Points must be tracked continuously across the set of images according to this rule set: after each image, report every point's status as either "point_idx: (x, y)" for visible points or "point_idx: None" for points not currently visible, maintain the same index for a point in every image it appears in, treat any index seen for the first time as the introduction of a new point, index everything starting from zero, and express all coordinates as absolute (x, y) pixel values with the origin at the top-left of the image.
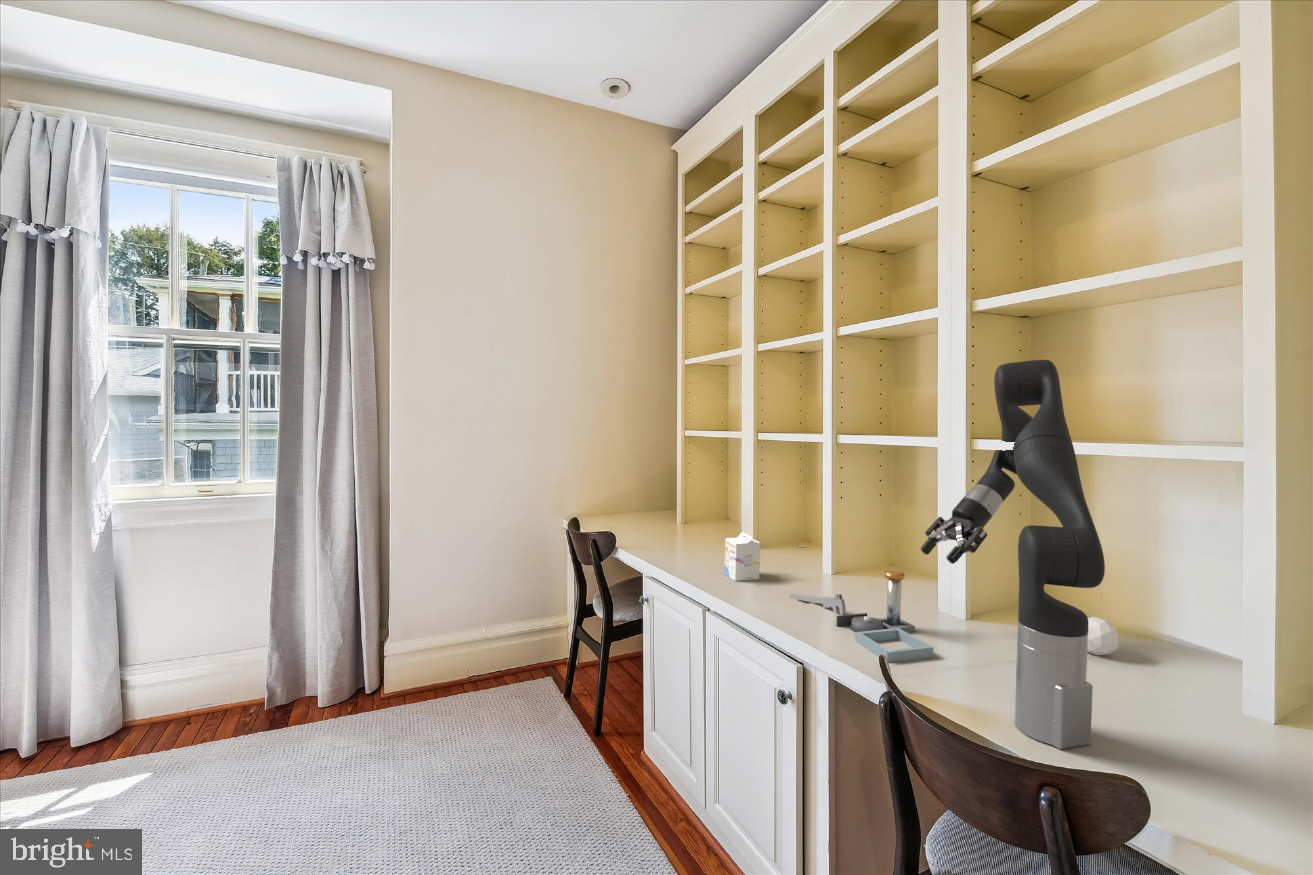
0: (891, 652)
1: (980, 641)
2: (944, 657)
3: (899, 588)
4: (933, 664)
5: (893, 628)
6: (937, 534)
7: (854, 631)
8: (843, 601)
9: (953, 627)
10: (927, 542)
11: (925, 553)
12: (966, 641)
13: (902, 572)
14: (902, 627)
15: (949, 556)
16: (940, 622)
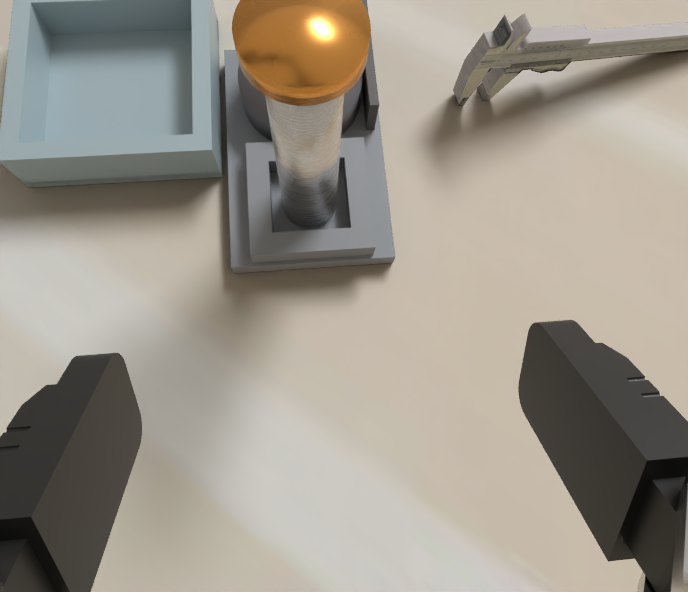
0: (14, 4)
1: (139, 514)
2: (47, 249)
3: (266, 100)
4: (10, 176)
5: (210, 127)
6: (677, 589)
7: None
8: (483, 49)
9: (312, 506)
10: (606, 393)
11: (522, 372)
12: (155, 447)
13: (302, 81)
14: (249, 197)
15: (69, 367)
16: (380, 485)
